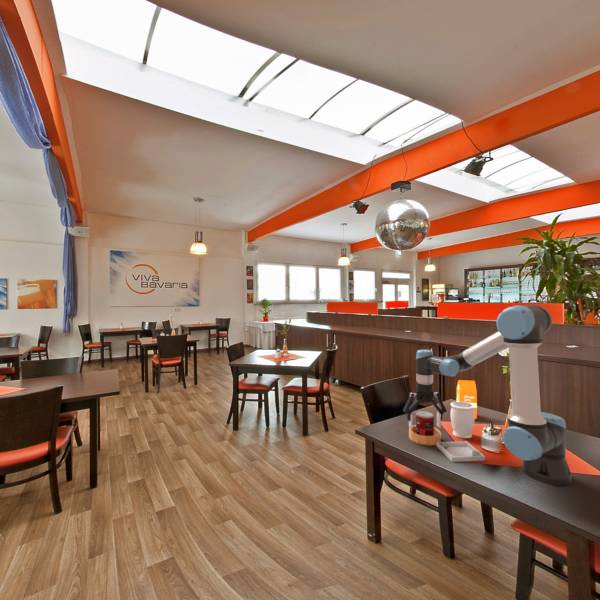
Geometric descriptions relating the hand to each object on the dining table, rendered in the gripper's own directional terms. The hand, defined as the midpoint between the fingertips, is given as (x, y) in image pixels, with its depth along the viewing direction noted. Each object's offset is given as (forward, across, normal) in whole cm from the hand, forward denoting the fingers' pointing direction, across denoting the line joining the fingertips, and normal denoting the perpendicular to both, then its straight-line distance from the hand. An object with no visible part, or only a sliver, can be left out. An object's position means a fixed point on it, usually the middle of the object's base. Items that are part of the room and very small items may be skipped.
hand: (424, 427), depth 158 cm
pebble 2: (+6, -14, +20) cm, 24 cm away
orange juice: (+6, -36, -28) cm, 46 cm away
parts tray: (+6, -9, +15) cm, 18 cm away
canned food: (+5, 0, 0) cm, 5 cm away
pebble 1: (+6, -4, +10) cm, 13 cm away
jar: (+6, -20, -3) cm, 21 cm away
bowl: (+6, 0, 0) cm, 6 cm away
